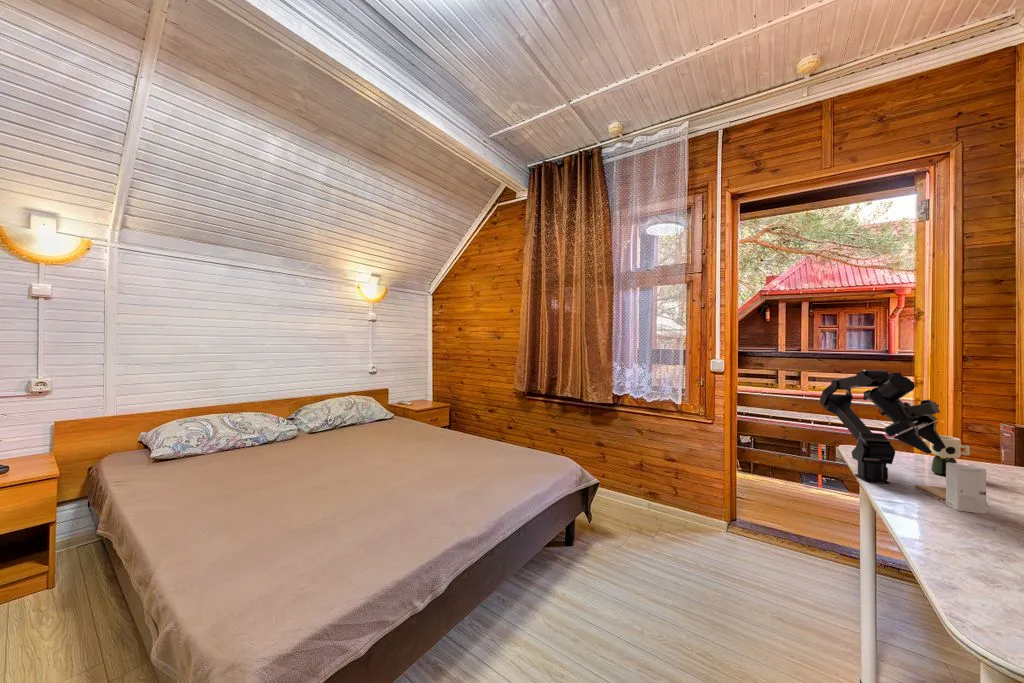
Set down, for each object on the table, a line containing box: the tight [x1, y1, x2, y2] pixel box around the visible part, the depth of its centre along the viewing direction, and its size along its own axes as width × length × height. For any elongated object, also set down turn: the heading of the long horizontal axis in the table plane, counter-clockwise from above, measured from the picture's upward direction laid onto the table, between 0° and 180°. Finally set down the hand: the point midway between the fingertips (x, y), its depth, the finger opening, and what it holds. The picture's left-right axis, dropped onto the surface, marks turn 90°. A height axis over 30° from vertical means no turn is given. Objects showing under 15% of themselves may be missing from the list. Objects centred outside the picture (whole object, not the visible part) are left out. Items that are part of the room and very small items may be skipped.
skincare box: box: [945, 462, 987, 514], centre depth 102 cm, size 6×4×12 cm
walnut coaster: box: [914, 484, 988, 506], centre depth 111 cm, size 10×10×1 cm
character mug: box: [922, 434, 971, 475], centre depth 129 cm, size 11×7×13 cm, turn 36°
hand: (937, 450), depth 109 cm, fingers open, 9 cm apart
